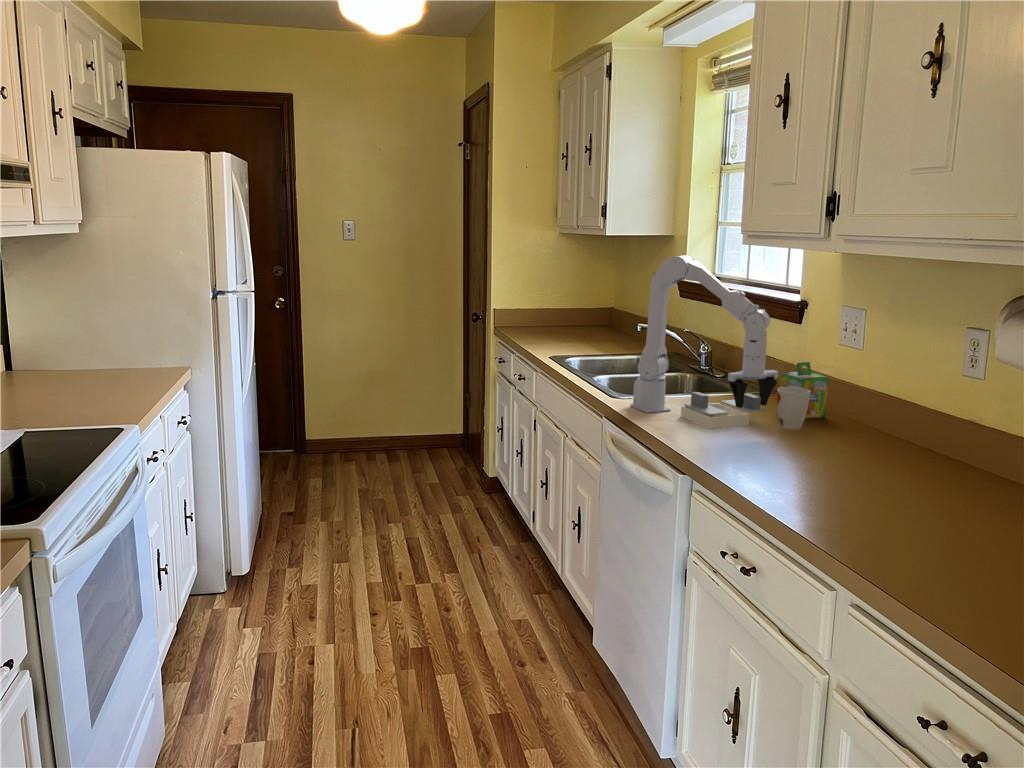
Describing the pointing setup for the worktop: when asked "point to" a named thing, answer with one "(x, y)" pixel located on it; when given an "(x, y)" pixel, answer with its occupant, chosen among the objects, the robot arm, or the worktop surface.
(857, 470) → the worktop surface
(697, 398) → the flap near
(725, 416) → the carton
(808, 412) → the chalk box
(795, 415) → the cup
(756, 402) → the flap far
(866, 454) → the worktop surface
